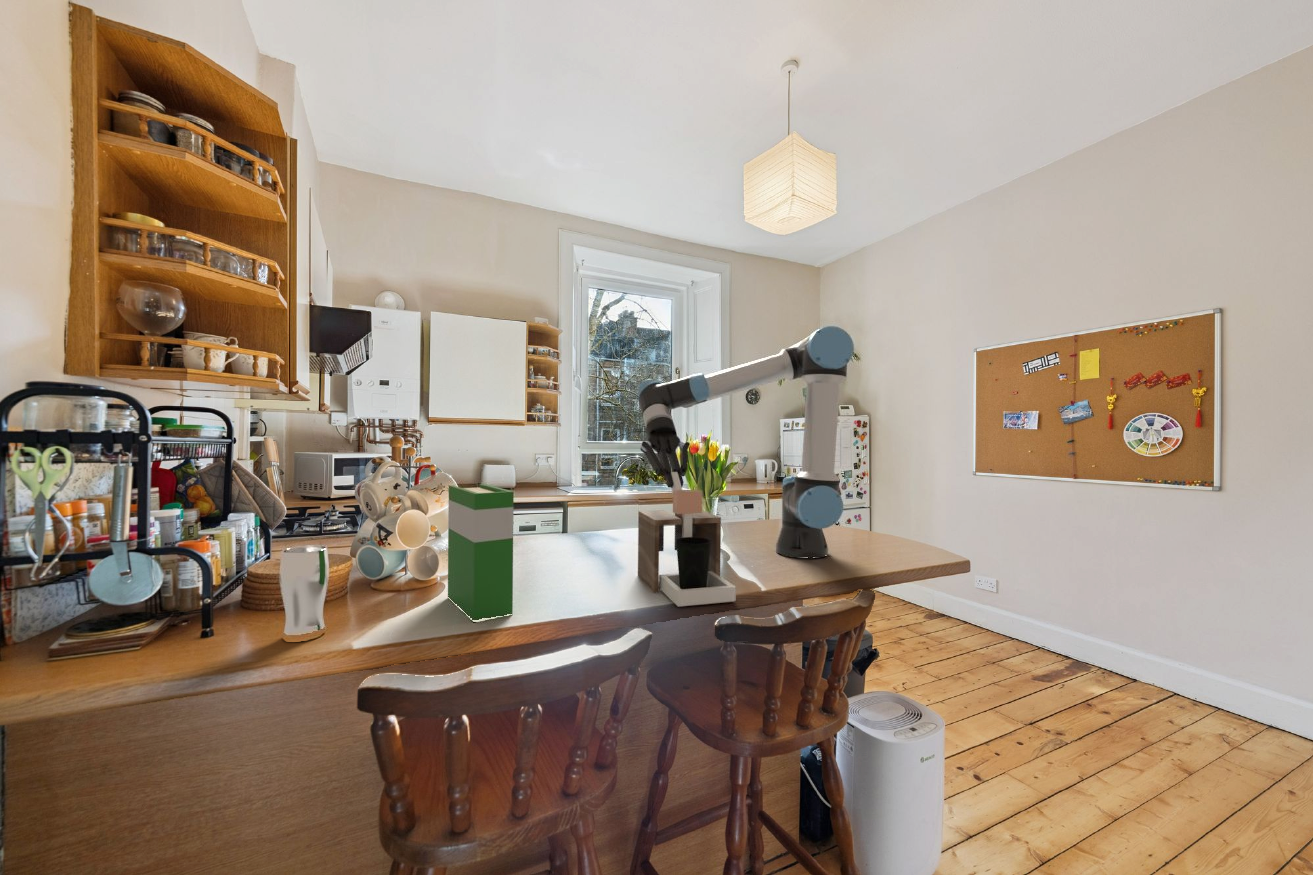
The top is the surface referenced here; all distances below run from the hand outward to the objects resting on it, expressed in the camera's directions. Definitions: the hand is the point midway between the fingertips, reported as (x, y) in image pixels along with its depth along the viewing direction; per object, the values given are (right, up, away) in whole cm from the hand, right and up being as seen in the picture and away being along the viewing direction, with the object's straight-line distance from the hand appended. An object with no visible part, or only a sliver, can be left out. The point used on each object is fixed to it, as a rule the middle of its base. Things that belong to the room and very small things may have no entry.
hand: (678, 497), depth 119 cm
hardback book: (-41, -21, -15) cm, 49 cm away
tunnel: (0, -21, +4) cm, 21 cm away
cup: (+3, -21, -6) cm, 22 cm away
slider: (+3, -21, -8) cm, 22 cm away
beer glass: (-66, -20, -31) cm, 76 cm away
